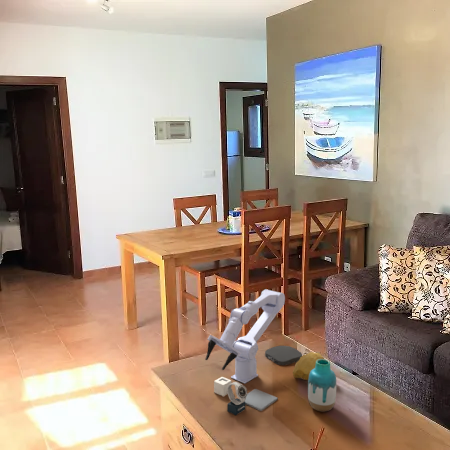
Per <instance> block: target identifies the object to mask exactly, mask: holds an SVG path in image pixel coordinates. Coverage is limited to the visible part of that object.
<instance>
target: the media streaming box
mask: <svg viewBox="0 0 450 450" xmlns="http://www.w3.org/2000/svg"><path fill="white" fill-rule="evenodd" d="M302 353H303V352H301V351H300V350H298V349H296V348H295V347H292V346H289V345H276V346H272V347H270V348H268V349H266V350H265V351H264V357H265V358H266V359H267V360H269V361H270V362H273V363H274V364H276V365H277V366H287V365H291V364H294V363H295V364H296V363H297V362H298V361H299V360H300V357H302V356H303V354H302Z"/></svg>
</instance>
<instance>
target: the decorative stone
mask: <svg viewBox="0 0 450 450" xmlns="http://www.w3.org/2000/svg"><path fill="white" fill-rule="evenodd" d="M318 359H325V357H324V356H323V355H322V354H320V353H319V352H313V351H311V352H308V353H306V354H302V357H300V360H299V361H298V362H295V366H294V368H293V370H292V375H293V378H294V379H300V380H301V379H302V380H304V381H308V379H309V374H310V372H311V370H312V369H314V368H315V365H316V361H317V360H318Z"/></svg>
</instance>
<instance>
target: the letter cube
mask: <svg viewBox="0 0 450 450" xmlns="http://www.w3.org/2000/svg"><path fill="white" fill-rule="evenodd" d="M231 383H232V380H231V379H229V378H226V377H224V376H220V377H219V378H217V379H215V380H214V381H213V393H215V394H217V395H219V396H222V397H225V396H228V393H227V388H228V385H230V384H231Z"/></svg>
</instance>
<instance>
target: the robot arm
mask: <svg viewBox="0 0 450 450" xmlns="http://www.w3.org/2000/svg"><path fill="white" fill-rule="evenodd" d="M285 301H286V296H285V293H283V292H279V291H275V290H270V289H267V288H266V289H264V290H262V291H261V294H260V296H259V297H257V298H256V299H255V300H254V301H252V300H249V301H248V302H247V303H245V304H244V305H242V306H241V307H239V308H238V307H237V308H234V309H232V310H231V311H230V316H229V319H228V323H227V325H226V327H225V329H224V331H223V333H222V334H221V336H220V338H218V337H216V336H213V335H211V334H209V336H208V338H207V340H208V344H207V351H206V353H207V354H206V357H205V358H204V359H205V361H208V360H209V358H210V356H211V353H212V351H213V349H215V346H218V347H220V348H221V349H222V350H225V351H226V352H228V353H229V355H228V356H227V358H226V361H225V362H224V364H223V365H222V368H221V370H222V371H224V370H225V369H226V368H227V366H229V364H230V363H231V362H232V361H235V362H234V363H235V364H234V368H235V369H234V370H235V371H234V374H233V375H231V376H230V378H231V379H232V380H236V381H237V382H239V383H243V384H247V383H249V382H250V381H251V380H253V379H255V378H257V377H258V376H259V374H258V373H257V371H258V370H257V369H258V367H257V359H256V355H257V352H258V351H259V345H258V343H257V342H258V341H259V340H260V339H261V337H262V335H263V334H264V333H265V331H266V330H267V329H268V327H269V326H270V324H271V323H272V321H273V320H274V319H275V317H276V316H277V314H278V313H279V312H280V311H281V310H282V308H283V307H284V305H285V303H286V302H285ZM259 309H262V310H263V312H262V314H261V315H260V316H259V318H258V319H257V320H256V322H255V323H254V324H253V326H252V327H251V329H249V331H248V332H247V334H246V335H244V336H240V337H238V336H239V334H240V333H241V330H242V328H243V327H244V325H247V324H249V321H250V320H251V318H252V317H253V316H254V315H256V314H257V313H258V312H259ZM237 338H238V339H237Z"/></svg>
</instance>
